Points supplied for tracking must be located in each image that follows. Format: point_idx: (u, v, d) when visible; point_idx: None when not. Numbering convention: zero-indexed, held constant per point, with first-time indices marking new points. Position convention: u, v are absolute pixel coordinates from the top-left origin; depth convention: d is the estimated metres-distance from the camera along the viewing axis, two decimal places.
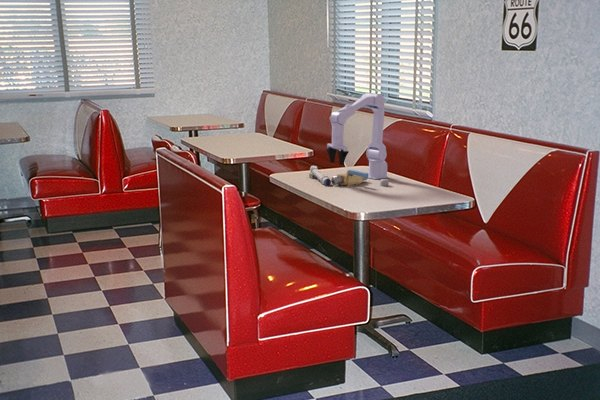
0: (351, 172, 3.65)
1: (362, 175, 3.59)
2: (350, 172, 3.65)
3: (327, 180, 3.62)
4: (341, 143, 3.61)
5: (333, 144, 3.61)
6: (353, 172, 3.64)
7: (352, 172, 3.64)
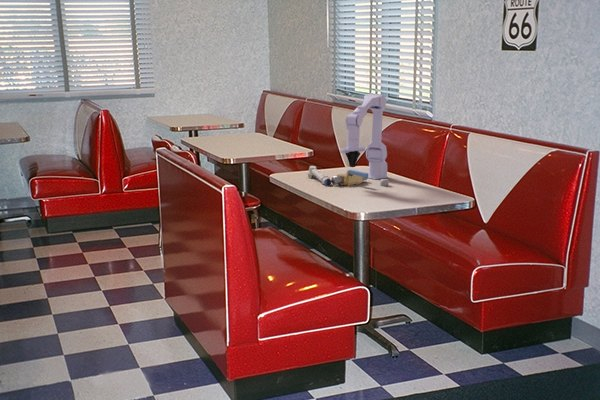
0: (351, 172, 3.65)
1: (362, 175, 3.59)
2: (350, 172, 3.65)
3: (327, 180, 3.62)
4: (349, 146, 3.54)
5: None
6: (353, 172, 3.64)
7: (352, 172, 3.64)
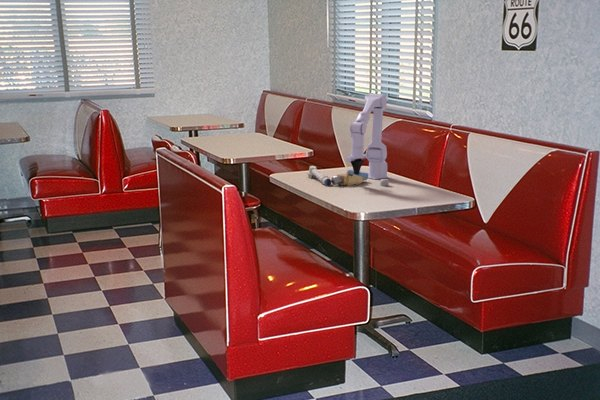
0: (351, 172, 3.65)
1: (362, 175, 3.59)
2: (350, 172, 3.65)
3: (327, 180, 3.62)
4: (354, 153, 3.56)
5: None
6: (353, 172, 3.64)
7: (352, 172, 3.64)
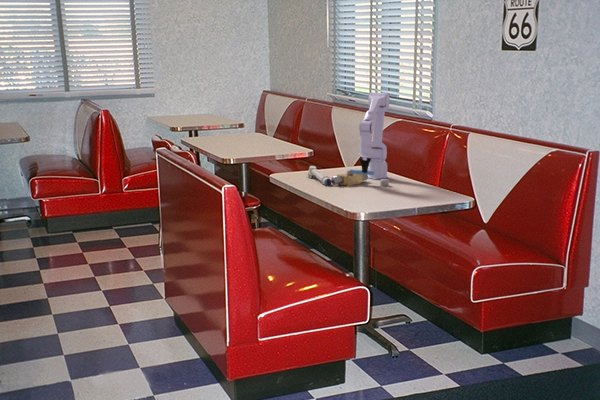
0: (354, 172, 3.66)
1: (370, 173, 3.64)
2: (353, 172, 3.66)
3: (328, 180, 3.62)
4: (366, 152, 3.59)
5: None
6: (357, 171, 3.65)
7: (355, 172, 3.65)
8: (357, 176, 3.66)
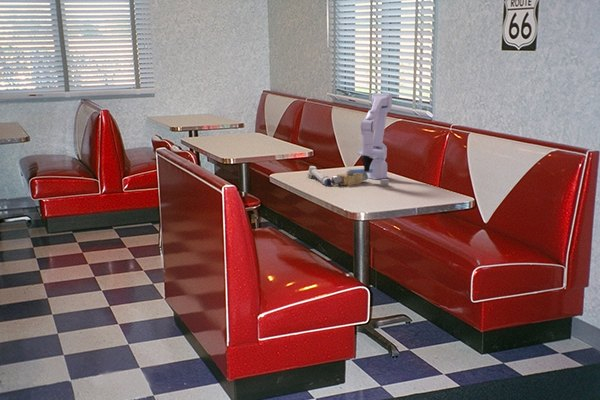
0: (355, 171, 3.67)
1: (369, 171, 3.70)
2: (354, 171, 3.67)
3: (328, 180, 3.62)
4: (371, 151, 3.65)
5: (363, 152, 3.65)
6: (358, 171, 3.68)
7: (356, 171, 3.67)
8: (357, 176, 3.66)
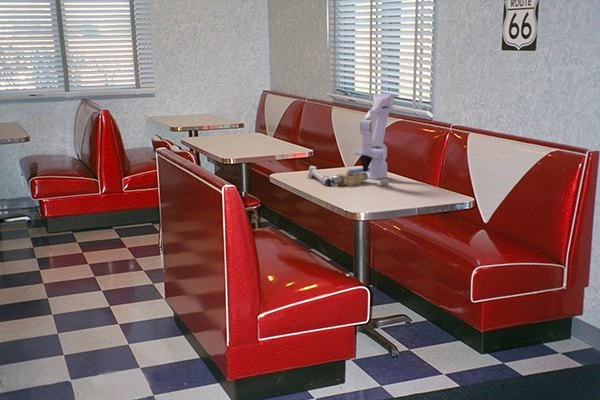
0: (355, 171, 3.68)
1: None
2: (354, 171, 3.67)
3: (328, 180, 3.62)
4: (370, 150, 3.66)
5: (363, 151, 3.66)
6: (357, 170, 3.68)
7: (356, 171, 3.68)
8: (357, 176, 3.66)
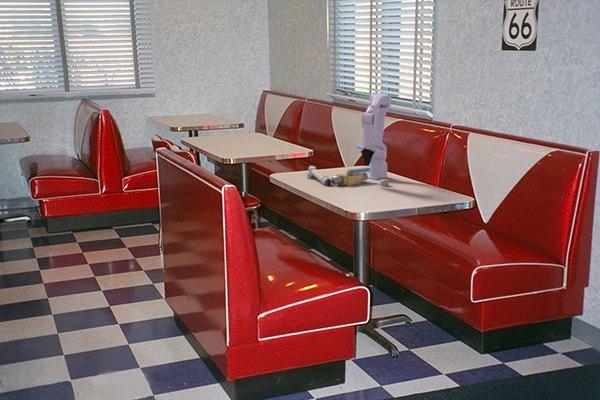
0: (355, 171, 3.68)
1: (367, 170, 3.72)
2: (354, 171, 3.67)
3: (328, 180, 3.62)
4: (372, 144, 3.62)
5: (364, 145, 3.61)
6: (357, 170, 3.68)
7: (356, 171, 3.68)
8: (357, 176, 3.66)
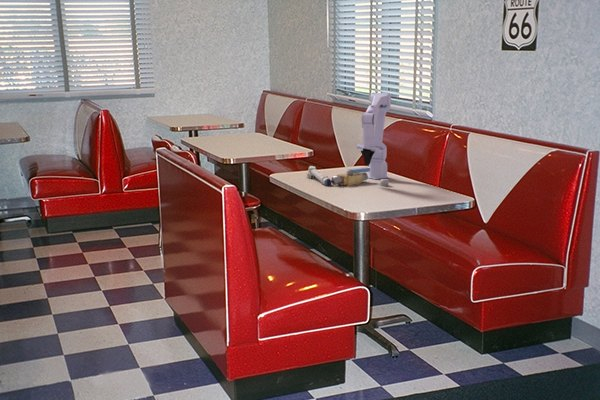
0: (355, 171, 3.68)
1: (367, 170, 3.72)
2: (354, 171, 3.67)
3: (328, 180, 3.61)
4: (372, 144, 3.62)
5: (364, 145, 3.61)
6: (357, 170, 3.68)
7: (356, 171, 3.68)
8: (357, 176, 3.66)
